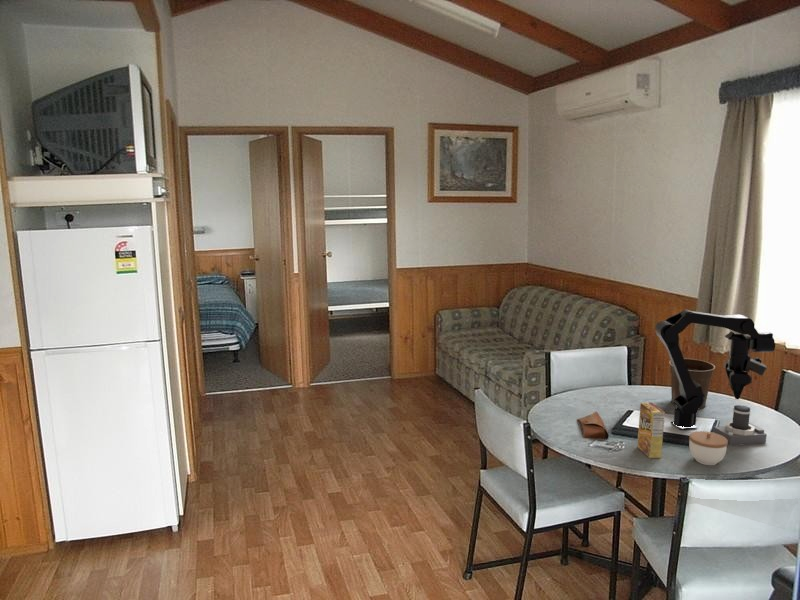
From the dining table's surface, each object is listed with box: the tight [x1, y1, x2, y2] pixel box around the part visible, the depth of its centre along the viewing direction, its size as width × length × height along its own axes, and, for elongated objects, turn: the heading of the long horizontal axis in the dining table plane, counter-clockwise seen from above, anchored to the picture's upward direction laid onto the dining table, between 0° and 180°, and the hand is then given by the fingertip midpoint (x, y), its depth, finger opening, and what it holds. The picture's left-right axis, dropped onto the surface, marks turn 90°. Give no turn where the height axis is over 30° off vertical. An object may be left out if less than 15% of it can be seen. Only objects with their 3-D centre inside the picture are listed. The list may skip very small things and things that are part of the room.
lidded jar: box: [688, 430, 729, 466], centre depth 198 cm, size 11×11×9 cm
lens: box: [731, 404, 751, 430], centre depth 214 cm, size 5×5×8 cm
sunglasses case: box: [576, 411, 610, 441], centre depth 225 cm, size 18×7×7 cm
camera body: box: [712, 421, 767, 447], centre depth 215 cm, size 13×9×4 cm
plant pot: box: [668, 357, 716, 410], centre depth 247 cm, size 16×16×16 cm
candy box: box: [636, 402, 666, 459], centre depth 204 cm, size 9×4×15 cm, turn 6°
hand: (735, 394), depth 223 cm, fingers open, 9 cm apart
